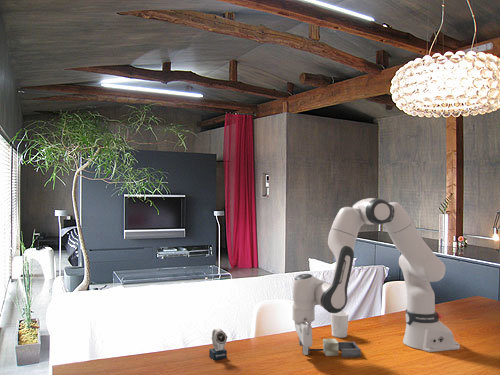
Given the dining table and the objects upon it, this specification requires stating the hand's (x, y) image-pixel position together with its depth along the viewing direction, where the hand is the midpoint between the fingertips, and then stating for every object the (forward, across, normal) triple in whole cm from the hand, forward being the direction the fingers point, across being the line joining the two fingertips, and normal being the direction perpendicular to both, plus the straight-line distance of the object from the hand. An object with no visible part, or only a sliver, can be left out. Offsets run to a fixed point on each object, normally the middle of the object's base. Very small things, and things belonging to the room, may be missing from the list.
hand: (303, 349), depth 173 cm
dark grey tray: (+2, 0, -18) cm, 18 cm away
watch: (+2, -3, +34) cm, 34 cm away
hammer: (+2, 0, -7) cm, 7 cm away
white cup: (+2, +21, -20) cm, 29 cm away
